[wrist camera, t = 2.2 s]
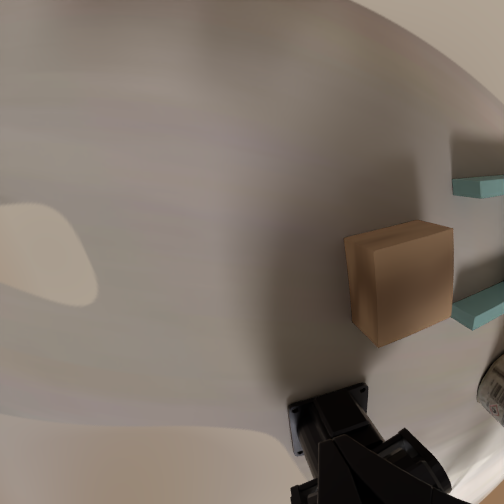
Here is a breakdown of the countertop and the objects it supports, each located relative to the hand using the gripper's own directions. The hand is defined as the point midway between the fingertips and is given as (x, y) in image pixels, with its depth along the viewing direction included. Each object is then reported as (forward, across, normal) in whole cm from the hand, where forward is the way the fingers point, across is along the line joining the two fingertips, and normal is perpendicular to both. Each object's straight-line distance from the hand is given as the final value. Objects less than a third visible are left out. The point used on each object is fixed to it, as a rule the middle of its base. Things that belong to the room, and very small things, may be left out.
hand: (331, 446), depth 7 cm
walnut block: (+12, -9, 0) cm, 15 cm away
